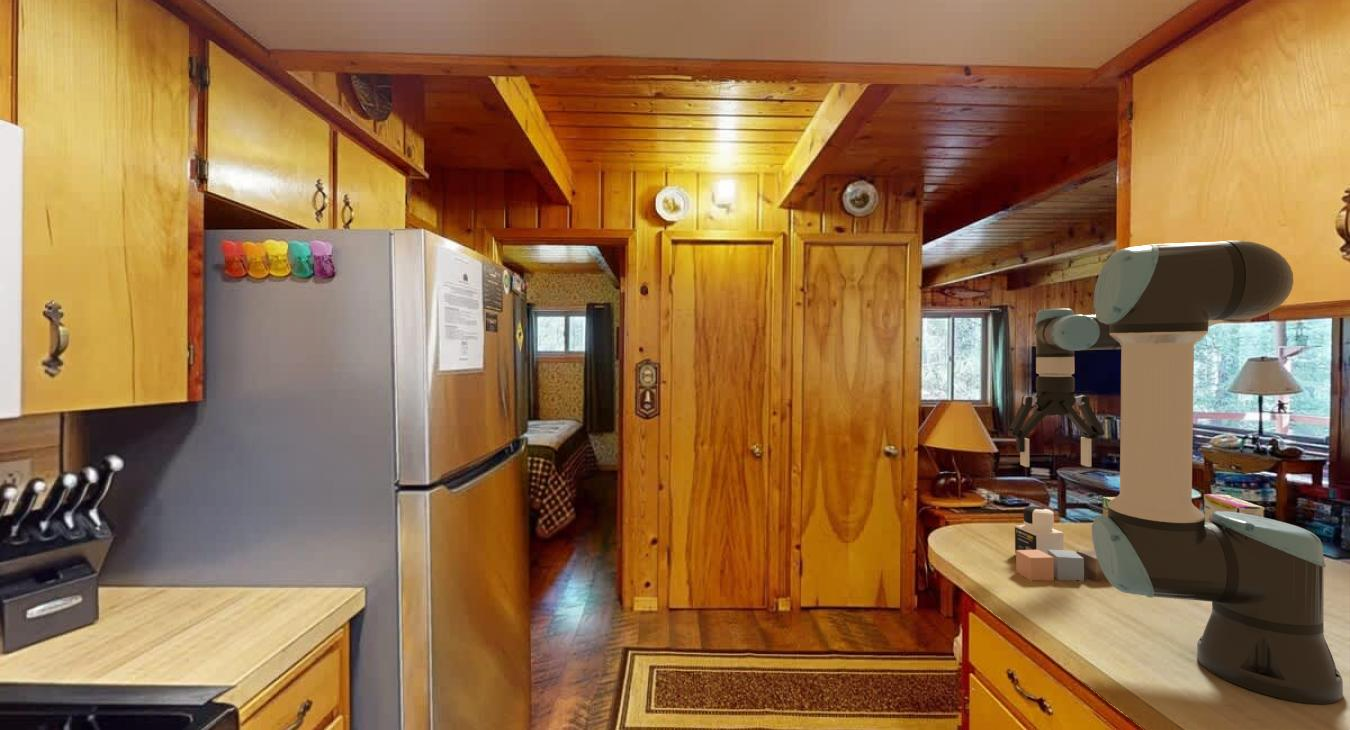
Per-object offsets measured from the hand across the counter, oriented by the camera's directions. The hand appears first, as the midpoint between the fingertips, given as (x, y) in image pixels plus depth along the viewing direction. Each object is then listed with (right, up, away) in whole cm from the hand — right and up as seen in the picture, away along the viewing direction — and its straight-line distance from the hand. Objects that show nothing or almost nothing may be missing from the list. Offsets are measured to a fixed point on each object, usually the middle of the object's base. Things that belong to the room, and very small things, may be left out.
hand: (1055, 465), depth 135 cm
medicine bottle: (-3, -22, +1) cm, 23 cm away
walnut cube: (+2, -22, -10) cm, 25 cm away
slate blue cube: (-4, -22, -10) cm, 25 cm away
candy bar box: (+31, -22, -11) cm, 40 cm away
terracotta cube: (-11, -23, -9) cm, 27 cm away
